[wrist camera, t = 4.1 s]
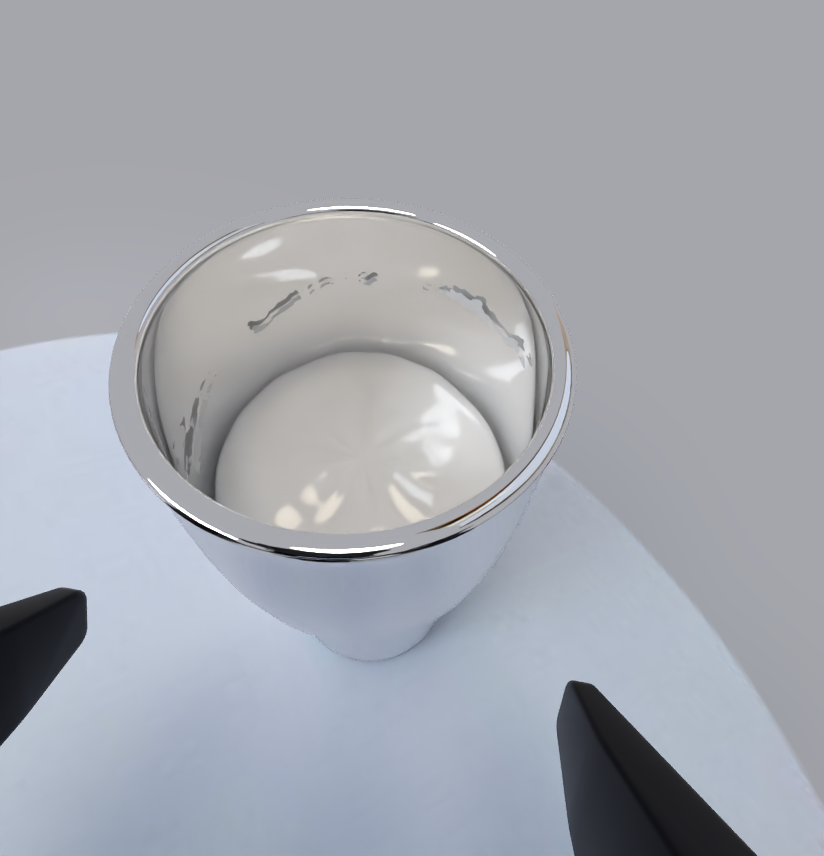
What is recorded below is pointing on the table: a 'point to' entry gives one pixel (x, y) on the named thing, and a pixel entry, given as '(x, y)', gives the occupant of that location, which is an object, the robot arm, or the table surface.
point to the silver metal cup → (345, 410)
